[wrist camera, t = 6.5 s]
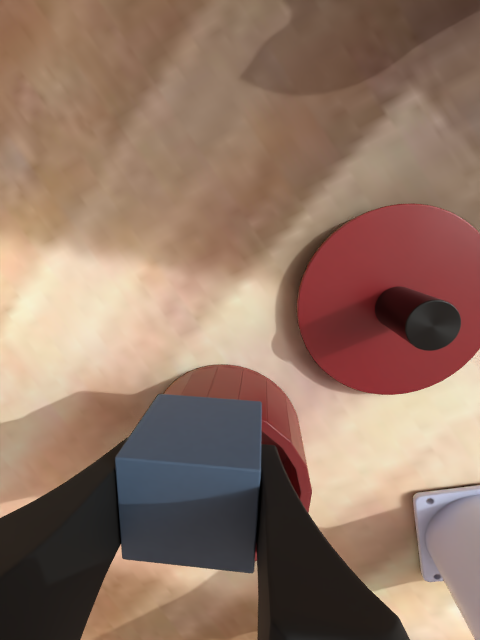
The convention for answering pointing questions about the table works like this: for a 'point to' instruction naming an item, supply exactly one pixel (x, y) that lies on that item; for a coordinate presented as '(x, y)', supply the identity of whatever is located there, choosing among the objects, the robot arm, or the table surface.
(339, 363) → the tin lid
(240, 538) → the block
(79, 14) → the table surface
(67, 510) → the robot arm
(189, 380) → the tin
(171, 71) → the table surface
